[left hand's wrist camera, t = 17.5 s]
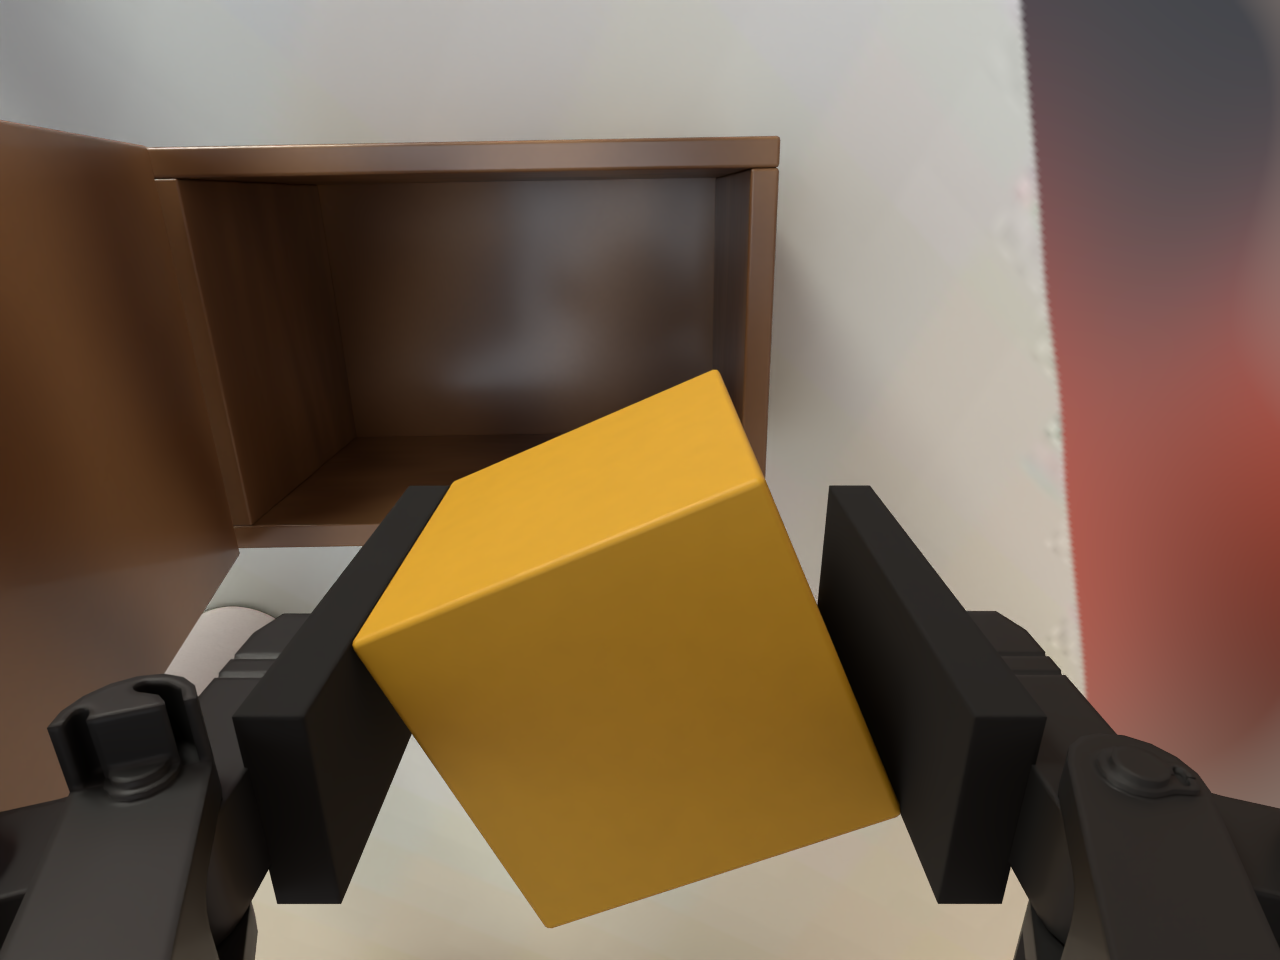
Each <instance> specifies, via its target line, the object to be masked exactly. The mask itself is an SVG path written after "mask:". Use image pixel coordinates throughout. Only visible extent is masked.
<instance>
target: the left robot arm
mask: <svg viewBox="0 0 1280 960" xmlns="http://www.w3.org/2000/svg"><path fill="white" fill-rule="evenodd" d="M449 488H450V486H409V487H408V488H407V489H406V491H405V492H404V493H403V495H402V496H401V497H400V499H399V500H398V501H397V502H396V504H395V505H394V506H393V508H392V509H391V510H390V512H389V513H388V514H387V515H386V517H385V518H384V519H383V521H382V522H381V523H380V525H379V526H378V527H377V528H376V530H375V531H374V532H373V534H372V535H371V536H370V538H369V539H368V540H367V541H366V543H365V544H364V545H363V547H362V548H361V549H360V551H359V552H358V553H357V554H356V556H355V557H354V558H353V560H352V561H351V562H350V564H349V565H348V566H347V567H346V569H345V570H344V571H343V573H342V574H341V575H340V577H339V578H338V579H337V581H336V582H335V583H334V584H333V586H332V587H331V588H330V590H329V591H328V592H327V594H326V595H325V596H324V597H323V599H322V600H321V601H320V603H319V604H318V605H317V607H316V608H315V609H314V610H313V612H312V613H311V614H282V615H281V616H279V617H277V618H276V619H274V620H273V621H271V622H269V623H268V624H266V625H265V626H263V627H262V628H260V629H258V630H257V631H255V632H254V633H253V634H252V635H251V636H250V637H249V638H248V640H247V641H246V642H245V643H244V644H243V645H242V646H241V648H240V649H239V650H238V651H237V652H236V653H235V657H234V659H230V660H229V662H228V663H227V664H226V665H225V666H224V667H223V668H222V670H221V671H220V672H219V676H218V678H214V679H213V680H212V681H211V682H210V684H209V685H208V686H207V687H206V688H205V689H204V690H203V692H202V693H201V694H200V695H199V696H198V695H197V691H196V687H195V685H194V684H193V683H191V682H190V681H188V680H187V679H186V678H184V677H182V676H175V675H169V674H154V675H143V676H136V677H133V678H129V679H126V680H122V681H118V682H115V683H111V684H109V685H106V686H104V687H102V688H100V689H97V690H95V691H93V692H91V693H89V694H86V695H84V696H82V697H81V698H79V699H78V700H77V701H75V702H74V703H72V704H71V705H69V706H68V707H66V708H65V709H63V710H62V711H61V712H60V713H59V714H58V715H57V716H56V718H55V719H54V720H53V721H52V722H51V723H50V725H49V726H48V727H47V730H48V733H49V736H50V739H51V741H52V744H53V747H54V750H55V753H56V755H57V758H58V761H59V764H60V767H61V769H62V772H63V775H64V778H65V781H66V783H67V786H68V789H69V792H70V793H69V795H68V797H64V798H61V799H57V800H52V801H48V802H43V803H39V804H34V805H30V806H25V807H20V808H16V809H11V810H7V811H2V812H0V960H255V953H256V943H257V933H258V930H257V924H256V918H255V913H254V909H253V905H252V902H251V901H252V899H253V897H254V895H255V893H256V892H257V890H258V888H259V886H260V884H261V882H262V881H263V879H264V877H265V875H266V873H267V871H268V870H269V872H270V876H271V880H272V884H273V888H274V892H275V896H276V900H277V904H341V903H342V901H343V898H344V896H345V893H346V891H347V888H348V886H349V884H350V881H351V879H352V876H353V874H354V872H355V869H356V867H357V864H358V862H359V860H360V857H361V855H362V852H363V850H364V848H365V845H366V843H367V840H368V838H369V836H370V833H371V831H372V828H373V826H374V823H375V821H376V819H377V816H378V814H379V811H380V809H381V807H382V804H383V802H384V799H385V797H386V795H387V792H388V790H389V787H390V785H391V783H392V780H393V778H394V775H395V773H396V770H397V768H398V766H399V763H400V761H401V758H402V756H403V754H404V751H405V749H406V746H407V744H408V742H409V739H410V737H411V734H412V733H411V732H410V730H409V729H408V727H407V726H406V724H405V723H404V722H403V720H402V719H401V717H400V716H399V714H398V713H397V711H396V710H395V709H394V707H393V706H392V704H391V703H390V701H389V700H388V698H387V697H386V696H385V694H384V693H383V691H382V690H381V688H380V687H379V685H378V684H377V683H376V681H375V680H374V678H373V677H372V675H371V674H370V672H369V671H368V670H367V668H366V667H365V665H364V664H363V662H362V661H361V659H360V658H359V656H358V655H357V654H356V652H355V651H354V649H353V641H354V639H355V637H356V636H357V634H358V633H359V631H360V629H361V628H362V626H363V625H364V623H365V622H366V620H367V618H368V617H369V615H370V614H371V612H372V610H373V609H374V607H375V606H376V604H377V602H378V601H379V599H380V598H381V596H382V594H383V593H384V591H385V590H386V588H387V587H388V585H389V583H390V582H391V580H392V579H393V577H394V575H395V574H396V572H397V571H398V569H399V567H400V566H401V564H402V563H403V561H404V560H405V558H406V556H407V555H408V553H409V552H410V550H411V548H412V547H413V545H414V544H415V542H416V540H417V539H418V537H419V536H420V534H421V533H422V531H423V529H424V528H425V526H426V525H427V523H428V521H429V520H430V518H431V517H432V515H433V513H434V512H435V510H436V509H437V507H438V506H439V504H440V502H441V501H442V499H443V498H444V496H445V494H446V493H447V491H448V490H449ZM817 606H818V609H819V611H820V613H821V616H822V618H823V621H824V623H825V626H826V628H827V630H828V633H829V635H830V638H831V640H832V643H833V645H834V647H835V650H836V652H837V655H838V657H839V659H840V662H841V664H842V667H843V669H844V672H845V674H846V676H847V679H848V681H849V684H850V686H851V689H852V691H853V693H854V696H855V698H856V701H857V703H858V705H859V708H860V710H861V713H862V715H863V718H864V720H865V722H866V725H867V727H868V730H869V732H870V735H871V737H872V739H873V742H874V744H875V747H876V749H877V751H878V754H879V756H880V759H881V761H882V764H883V766H884V768H885V771H886V773H887V776H888V778H889V781H890V783H891V785H892V788H893V790H894V793H895V795H896V797H897V800H898V802H899V805H900V813H901V816H902V818H903V821H904V823H905V825H906V828H907V830H908V833H909V835H910V837H911V840H912V842H913V845H914V847H915V850H916V852H917V854H918V857H919V859H920V862H921V864H922V866H923V869H924V871H925V874H926V876H927V878H928V881H929V883H930V886H931V888H932V890H933V893H934V895H935V898H936V900H937V903H938V904H1002V901H1003V896H1004V892H1005V888H1006V884H1007V880H1008V876H1009V872H1010V868H1011V867H1012V869H1013V871H1014V873H1015V875H1016V876H1017V878H1018V880H1019V882H1020V884H1021V886H1022V887H1023V889H1024V891H1025V893H1026V895H1027V897H1028V898H1029V902H1028V905H1027V909H1026V913H1025V917H1024V921H1023V924H1022V928H1021V932H1020V936H1019V940H1018V944H1017V947H1016V951H1015V955H1014V959H1013V960H1280V809H1279V808H1275V807H1270V806H1265V805H1261V804H1256V803H1252V802H1247V801H1243V800H1238V799H1233V798H1229V797H1224V796H1220V795H1217V794H1213V793H1211V792H1210V790H1209V789H1208V787H1207V786H1206V785H1205V783H1204V782H1203V780H1202V779H1201V778H1200V776H1199V775H1198V774H1197V773H1196V772H1195V771H1194V770H1192V769H1191V768H1190V767H1188V766H1187V765H1186V764H1185V763H1183V762H1182V761H1181V760H1180V759H1178V758H1177V757H1176V756H1174V755H1172V754H1170V753H1168V752H1166V751H1164V750H1162V749H1160V748H1158V747H1156V746H1154V745H1152V744H1150V743H1147V742H1144V741H1140V740H1137V739H1134V738H1131V737H1127V736H1124V735H1117V734H1116V733H1115V732H1114V731H1113V729H1112V728H1111V727H1110V726H1109V725H1108V724H1107V723H1106V721H1105V720H1104V719H1103V718H1102V717H1101V716H1100V714H1099V713H1098V712H1097V711H1096V710H1095V709H1094V708H1093V706H1092V705H1091V704H1090V703H1089V702H1088V701H1087V700H1086V698H1085V697H1084V696H1083V695H1082V694H1081V693H1080V691H1079V690H1078V689H1077V688H1076V687H1075V686H1074V685H1073V683H1072V682H1071V681H1070V680H1069V679H1068V678H1067V677H1066V675H1062V674H1061V670H1060V668H1059V667H1058V666H1057V665H1056V664H1055V663H1054V662H1053V660H1052V659H1051V658H1050V657H1049V656H1045V651H1044V650H1043V649H1042V648H1041V647H1040V645H1039V644H1038V643H1037V642H1036V641H1035V640H1034V639H1033V637H1032V636H1031V635H1030V634H1029V633H1028V632H1027V631H1026V630H1025V629H1024V628H1022V627H1020V626H1019V625H1017V624H1016V623H1014V622H1012V621H1011V620H1009V619H1008V618H1006V617H1004V616H1003V615H1001V614H1000V613H998V612H996V611H966V610H965V609H964V608H963V606H962V605H961V604H960V602H959V601H958V600H957V599H956V597H955V596H954V595H953V593H952V592H951V591H950V589H949V588H948V587H947V586H946V584H945V583H944V582H943V580H942V579H941V578H940V576H939V575H938V574H937V573H936V571H935V570H934V569H933V567H932V566H931V565H930V563H929V562H928V561H927V560H926V558H925V557H924V556H923V554H922V553H921V552H920V550H919V549H918V548H917V546H916V545H915V544H914V543H913V541H912V540H911V539H910V537H909V536H908V535H907V533H906V532H905V531H904V530H903V528H902V527H901V526H900V524H899V523H898V522H897V520H896V519H895V518H894V517H893V515H892V514H891V513H890V511H889V510H888V509H887V507H886V506H885V505H884V504H883V502H882V501H881V500H880V498H879V497H878V496H877V494H876V493H875V492H874V490H873V489H872V488H871V487H870V486H829V494H828V504H827V514H826V525H825V535H824V545H823V555H822V565H821V575H820V585H819V595H818V605H817Z"/></svg>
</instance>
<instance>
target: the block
mask: <svg viewBox="0 0 1280 960" xmlns="http://www.w3.org/2000/svg"><path fill="white" fill-rule="evenodd" d="M353 649H354V651H355V652H356V654H357V655H358V656H359V658H360V659H361V661H362V662H363V664H364V665H365V667H366V668H367V670H368V671H369V672H370V674H371V675H372V677H373V678H374V680H375V681H376V683H377V684H378V685H379V687H380V688H381V690H382V691H383V693H384V694H385V696H386V697H387V698H388V700H389V701H390V703H391V704H392V706H393V707H394V709H395V710H396V711H397V713H398V714H399V716H400V717H401V719H402V720H403V722H404V723H405V724H406V726H407V727H408V729H409V730H410V732H411V733H412V735H413V736H414V737H415V739H416V740H417V742H418V743H419V745H420V746H421V748H422V749H423V750H424V752H425V753H426V755H427V756H428V758H429V759H430V761H431V762H432V763H433V765H434V766H435V768H436V769H437V771H438V772H439V774H440V775H441V776H442V778H443V779H444V781H445V782H446V784H447V785H448V787H449V788H450V789H451V791H452V792H453V794H454V795H455V797H456V798H457V800H458V801H459V802H460V804H461V805H462V807H463V808H464V810H465V811H466V813H467V814H468V815H469V817H470V818H471V820H472V821H473V823H474V824H475V826H476V827H477V828H478V830H479V831H480V833H481V834H482V836H483V837H484V839H485V840H486V841H487V843H488V844H489V846H490V847H491V849H492V850H493V852H494V853H495V854H496V856H497V857H498V859H499V860H500V862H501V863H502V865H503V866H504V867H505V869H506V870H507V872H508V873H509V875H510V876H511V878H512V879H513V880H514V882H515V883H516V885H517V886H518V888H519V889H520V891H521V892H522V893H523V895H524V896H525V898H526V899H527V901H528V902H529V904H530V905H531V907H532V908H533V909H534V911H535V912H536V914H537V915H538V917H539V918H540V920H541V921H542V922H543V924H544V925H545V927H547V928H554V927H557V926H560V925H563V924H566V923H569V922H572V921H575V920H579V919H582V918H585V917H588V916H591V915H594V914H597V913H600V912H603V911H606V910H610V909H613V908H616V907H619V906H622V905H625V904H628V903H631V902H634V901H637V900H641V899H644V898H647V897H650V896H653V895H656V894H659V893H662V892H665V891H668V890H672V889H675V888H678V887H681V886H684V885H687V884H690V883H693V882H696V881H699V880H703V879H706V878H709V877H712V876H715V875H718V874H721V873H724V872H727V871H730V870H734V869H737V868H740V867H743V866H746V865H749V864H752V863H755V862H758V861H761V860H765V859H768V858H771V857H774V856H777V855H780V854H783V853H786V852H789V851H792V850H796V849H799V848H802V847H805V846H808V845H811V844H814V843H817V842H820V841H823V840H827V839H830V838H833V837H836V836H839V835H842V834H845V833H848V832H851V831H854V830H858V829H861V828H864V827H867V826H870V825H873V824H876V823H879V822H882V821H885V820H889V819H892V818H895V817H897V816H898V815H900V805H899V802H898V800H897V797H896V795H895V793H894V790H893V788H892V785H891V783H890V781H889V778H888V776H887V773H886V771H885V768H884V766H883V764H882V761H881V759H880V756H879V754H878V751H877V749H876V747H875V744H874V742H873V739H872V737H871V735H870V732H869V730H868V727H867V725H866V722H865V720H864V718H863V715H862V713H861V710H860V708H859V705H858V703H857V701H856V698H855V696H854V693H853V691H852V689H851V686H850V684H849V681H848V679H847V676H846V674H845V672H844V669H843V667H842V664H841V662H840V659H839V657H838V655H837V652H836V650H835V647H834V645H833V643H832V640H831V638H830V635H829V633H828V630H827V628H826V626H825V623H824V621H823V618H822V616H821V613H820V611H819V609H818V606H817V604H816V601H815V599H814V597H813V594H812V592H811V589H810V587H809V584H808V582H807V580H806V577H805V575H804V572H803V570H802V567H801V565H800V563H799V560H798V558H797V555H796V553H795V551H794V548H793V546H792V543H791V541H790V538H789V536H788V534H787V531H786V529H785V526H784V524H783V521H782V519H781V517H780V514H779V512H778V509H777V507H776V505H775V502H774V500H773V497H772V495H771V492H770V490H769V488H768V485H767V483H766V480H765V478H764V476H763V473H762V471H761V469H760V466H759V464H758V461H757V459H756V457H755V454H754V452H753V450H752V447H751V445H750V443H749V440H748V438H747V436H746V433H745V431H744V428H743V426H742V424H741V421H740V419H739V417H738V414H737V412H736V410H735V407H734V405H733V403H732V400H731V398H730V395H729V393H728V391H727V388H726V386H725V384H724V381H723V379H722V377H721V374H720V372H719V371H718V370H711V371H709V372H707V373H704V374H702V375H700V376H697V377H695V378H693V379H690V380H688V381H686V382H683V383H681V384H679V385H676V386H674V387H672V388H669V389H667V390H665V391H663V392H660V393H658V394H656V395H653V396H651V397H649V398H646V399H644V400H642V401H639V402H637V403H635V404H632V405H630V406H628V407H625V408H623V409H621V410H619V411H616V412H614V413H612V414H609V415H607V416H605V417H602V418H600V419H598V420H595V421H593V422H591V423H588V424H586V425H584V426H581V427H579V428H577V429H575V430H572V431H570V432H568V433H565V434H563V435H561V436H558V437H556V438H554V439H551V440H549V441H547V442H544V443H542V444H540V445H537V446H535V447H533V448H531V449H528V450H526V451H524V452H521V453H519V454H517V455H514V456H512V457H510V458H507V459H505V460H503V461H500V462H498V463H496V464H493V465H491V466H489V467H487V468H484V469H482V470H480V471H477V472H475V473H473V474H470V475H468V476H466V477H463V478H461V479H459V480H456V481H454V482H453V484H452V485H451V486H450V488H449V490H448V491H447V493H446V494H445V496H444V498H443V499H442V501H441V502H440V504H439V506H438V507H437V509H436V510H435V512H434V513H433V515H432V517H431V518H430V520H429V521H428V523H427V525H426V526H425V528H424V529H423V531H422V533H421V534H420V536H419V537H418V539H417V540H416V542H415V544H414V545H413V547H412V548H411V550H410V552H409V553H408V555H407V556H406V558H405V560H404V561H403V563H402V564H401V566H400V567H399V569H398V571H397V572H396V574H395V575H394V577H393V579H392V580H391V582H390V583H389V585H388V587H387V588H386V590H385V591H384V593H383V594H382V596H381V598H380V599H379V601H378V602H377V604H376V606H375V607H374V609H373V610H372V612H371V614H370V615H369V617H368V618H367V620H366V622H365V623H364V625H363V626H362V628H361V629H360V631H359V633H358V634H357V636H356V637H355V639H354V641H353Z"/></svg>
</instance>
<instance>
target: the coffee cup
mask: <svg viewBox="0 0 1280 960" xmlns="http://www.w3.org/2000/svg"><path fill="white" fill-rule="evenodd" d="M274 619H275V618H273V617H271V616H270V615H267V614H265V613H263V612H260V611H257V610H254V609H250V608H245V607H221V608H216V609H212V610H209V611H207V612H204V613H203V614H202V615H201V616H200V618H199V619H198V621H197V623H196V624H195V626H194V627H193V629H192V631H191V632H190V634H189V635H188V637H187V639H186V640H185V642H184V643H183V645H182V646H181V648H180V650H179V651H178V653H177V654H176V656H175V658H174V659H173V661H172V662H171V664H170V665H169V667H168V669H167V670H166V672H165V673H164V674H169V675H175V676H182V677H184V678H186V679H187V680H188V681H190V682H191V683H193V684H194V685H195V687H196V691H197V695H198V696H199V695H200V694H201V693H202V692H203V690H204V689H205V688H206V687H207V686H208V685H209V684H210V682H211V681H212V680H213V679H214V678H218V676H219V672H220V671H221V670H222V668H223V667H224V666H225V665H226V664H227V663H228V662H229V660H230V659H234V657H235V653H236V652H237V651H238V650H239V649H240V648H241V646H242V645H243V644H244V643H245V642H246V641H247V640H248V638H249V637H250V636H251V635H252V634H253V633H254V632H255V631H257V630H258V629H260V628H262V627H263V626H265V625H266V624H268V623H269V622H271V621H273V620H274Z"/></svg>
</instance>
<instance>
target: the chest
mask: <svg viewBox="0 0 1280 960" xmlns="http://www.w3.org/2000/svg"><path fill="white" fill-rule="evenodd" d="M146 148H147V149H148V152H149V157H150V161H151V166H152V170H153V174H154V179H155V183H156V188H157V192H158V196H159V201H160V205H161V210H162V214H163V218H164V223H165V227H166V232H167V236H168V240H169V245H170V249H171V254H172V258H173V262H174V267H175V271H176V276H177V280H178V284H179V289H180V293H181V298H182V302H183V306H184V311H185V315H186V320H187V324H188V328H189V333H190V337H191V342H192V346H193V350H194V355H195V359H196V364H197V368H198V372H199V377H200V381H201V386H202V390H203V394H204V399H205V403H206V408H207V412H208V416H209V421H210V425H211V430H212V434H213V438H214V443H215V447H216V452H217V456H218V460H219V465H220V469H221V474H222V478H223V482H224V487H225V491H226V496H227V500H228V505H229V509H230V513H231V518H232V522H233V527H234V531H235V535H236V540H237V544H238V548H270V547H328V546H363V545H364V544H365V543H366V541H367V540H368V539H369V538H370V536H371V535H372V534H373V532H374V531H375V530H376V528H377V527H378V526H379V525H380V523H381V522H382V521H383V519H384V518H385V517H386V515H387V514H388V513H389V512H390V510H391V509H392V508H393V506H394V505H395V504H396V502H397V501H398V500H399V499H400V497H401V496H402V495H403V493H404V492H405V491H406V489H407V488H408V487H409V486H451V485H452V484H453V482H454V481H456V480H459V479H461V478H463V477H466V476H468V475H470V474H473V473H475V472H477V471H480V470H482V469H484V468H487V467H489V466H491V465H493V464H496V463H498V462H500V461H503V460H505V459H507V458H510V457H512V456H514V455H517V454H519V453H521V452H524V451H526V450H528V449H531V448H533V447H535V446H537V445H540V444H542V443H544V442H547V441H549V440H551V439H554V438H556V437H558V436H561V435H563V434H565V433H568V432H570V431H572V430H575V429H577V428H579V427H581V426H584V425H586V424H588V423H591V422H593V421H595V420H598V419H600V418H602V417H605V416H607V415H609V414H612V413H614V412H616V411H619V410H621V409H623V408H625V407H628V406H630V405H632V404H635V403H637V402H639V401H642V400H644V399H646V398H649V397H651V396H653V395H656V394H658V393H660V392H663V391H665V390H667V389H669V388H672V387H674V386H676V385H679V384H681V383H683V382H686V381H688V380H690V379H693V378H695V377H697V376H700V375H702V374H704V373H707V372H709V371H711V370H718V371H719V372H720V374H721V377H722V379H723V381H724V384H725V386H726V388H727V391H728V393H729V395H730V398H731V400H732V403H733V405H734V407H735V410H736V412H737V414H738V417H739V419H740V421H741V424H742V426H743V428H744V431H745V433H746V436H747V438H748V440H749V443H750V445H751V447H752V450H753V452H754V454H755V457H756V459H757V461H758V464H759V466H760V469H761V471H762V473H763V476H764V478H765V470H766V448H767V426H768V403H769V381H770V359H771V336H772V314H773V292H774V269H775V247H776V225H777V202H778V180H779V170H778V169H777V168H776V167H778V165H779V157H780V138H779V137H778V136H750V137H695V138H640V139H585V140H530V141H475V142H419V143H364V144H309V145H254V146H199V147H146Z"/></svg>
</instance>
